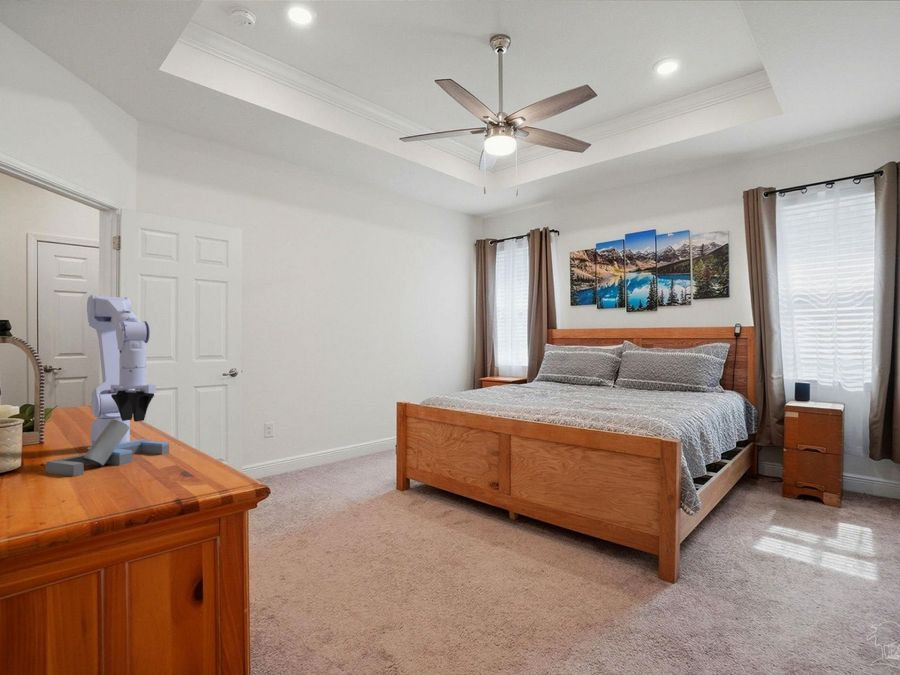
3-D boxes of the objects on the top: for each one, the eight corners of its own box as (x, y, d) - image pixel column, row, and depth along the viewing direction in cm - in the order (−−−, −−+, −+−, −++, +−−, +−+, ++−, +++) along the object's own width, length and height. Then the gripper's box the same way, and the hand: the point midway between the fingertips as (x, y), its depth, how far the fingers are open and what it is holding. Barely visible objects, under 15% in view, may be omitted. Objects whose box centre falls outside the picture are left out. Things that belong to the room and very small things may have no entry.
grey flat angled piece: (46, 472, 108) (46, 461, 108) (143, 451, 130) (143, 442, 130) (73, 476, 104) (73, 464, 105) (169, 454, 126) (169, 444, 126)
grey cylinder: (106, 468, 113) (133, 429, 119) (95, 460, 109) (122, 421, 116) (90, 464, 114) (117, 426, 120) (78, 456, 110) (107, 418, 116)
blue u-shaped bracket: (92, 452, 118) (92, 448, 118) (143, 442, 130) (143, 438, 130) (119, 455, 114) (119, 451, 114) (169, 444, 126) (169, 440, 126)
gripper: (98, 368, 120) (98, 421, 120) (136, 368, 114) (136, 424, 114) (126, 367, 126) (126, 417, 126) (163, 367, 121) (163, 420, 121)
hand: (132, 420), depth 121 cm, fingers open, 4 cm apart
